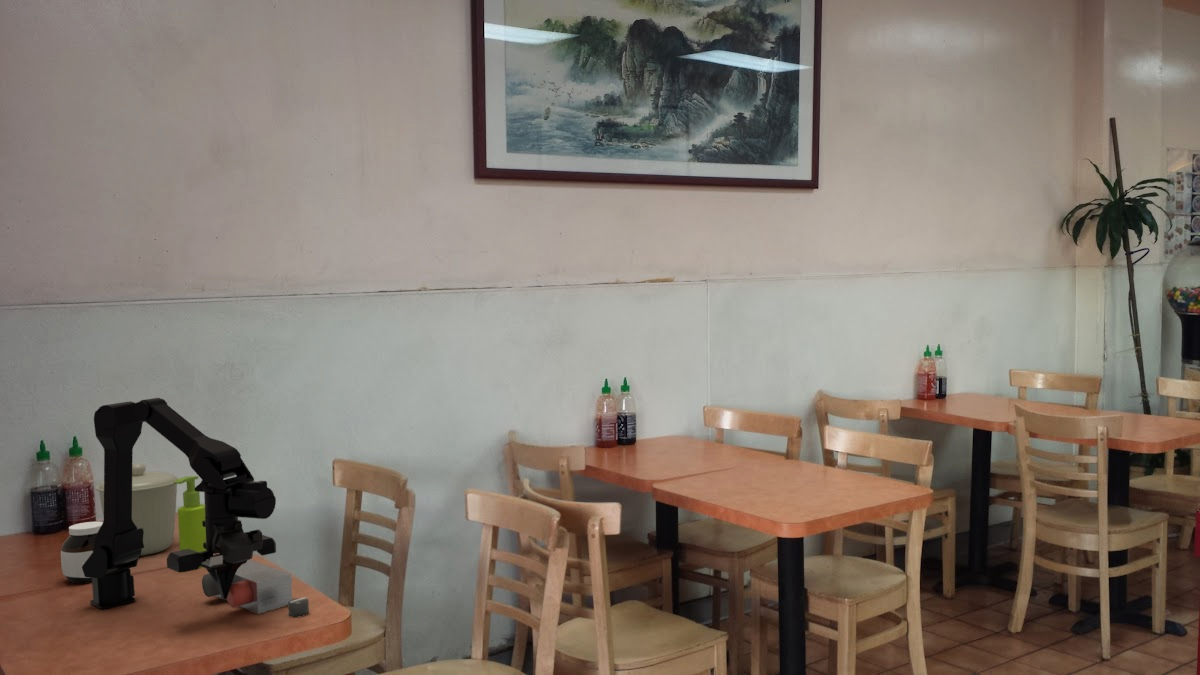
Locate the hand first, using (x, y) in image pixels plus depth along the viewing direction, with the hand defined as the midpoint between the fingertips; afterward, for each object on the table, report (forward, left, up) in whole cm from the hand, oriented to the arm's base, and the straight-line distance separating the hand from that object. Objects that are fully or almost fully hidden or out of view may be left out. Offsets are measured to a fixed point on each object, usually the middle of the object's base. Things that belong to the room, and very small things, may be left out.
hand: (224, 598), depth 186 cm
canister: (+9, +62, -4) cm, 63 cm away
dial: (+9, -10, -4) cm, 14 cm away
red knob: (+7, 0, -2) cm, 8 cm away
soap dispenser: (+11, +39, -4) cm, 41 cm away
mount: (+8, +5, -3) cm, 10 cm away
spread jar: (-7, +50, -4) cm, 51 cm away
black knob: (+7, +10, -2) cm, 13 cm away
